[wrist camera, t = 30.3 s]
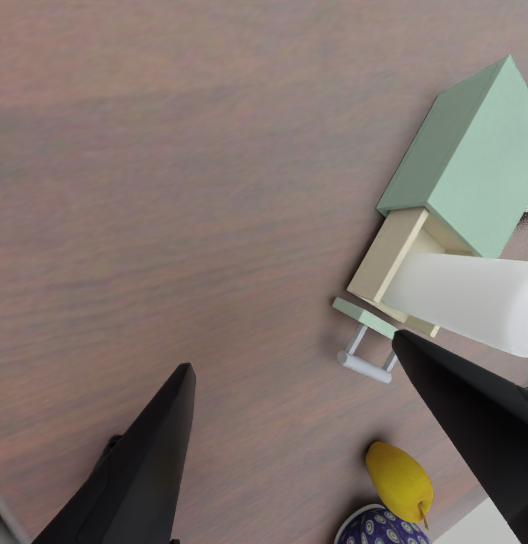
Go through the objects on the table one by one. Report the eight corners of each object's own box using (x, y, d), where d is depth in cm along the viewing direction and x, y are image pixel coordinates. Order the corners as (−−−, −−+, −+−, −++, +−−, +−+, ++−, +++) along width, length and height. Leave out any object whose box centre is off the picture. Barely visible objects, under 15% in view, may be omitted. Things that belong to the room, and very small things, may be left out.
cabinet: (436, 260, 28) (493, 267, 22) (375, 208, 23) (427, 201, 18) (490, 164, 27) (561, 147, 22) (438, 94, 23) (510, 53, 18)
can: (385, 244, 22) (573, 256, 11) (427, 257, 25) (621, 278, 13) (367, 302, 23) (528, 368, 12) (409, 310, 25) (580, 373, 14)
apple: (365, 476, 31) (418, 554, 24) (349, 451, 29) (401, 528, 22) (397, 447, 32) (457, 512, 25) (383, 421, 30) (445, 484, 23)
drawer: (375, 373, 27) (405, 396, 23) (310, 343, 23) (332, 366, 19) (446, 248, 27) (487, 250, 23) (391, 198, 23) (430, 191, 19)
